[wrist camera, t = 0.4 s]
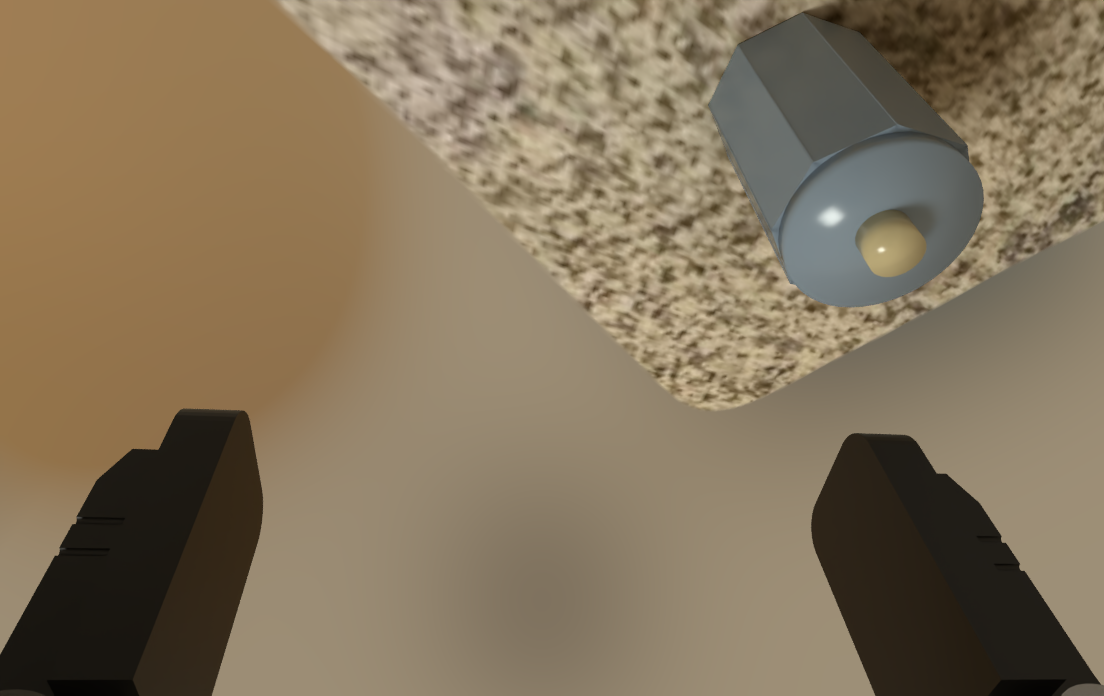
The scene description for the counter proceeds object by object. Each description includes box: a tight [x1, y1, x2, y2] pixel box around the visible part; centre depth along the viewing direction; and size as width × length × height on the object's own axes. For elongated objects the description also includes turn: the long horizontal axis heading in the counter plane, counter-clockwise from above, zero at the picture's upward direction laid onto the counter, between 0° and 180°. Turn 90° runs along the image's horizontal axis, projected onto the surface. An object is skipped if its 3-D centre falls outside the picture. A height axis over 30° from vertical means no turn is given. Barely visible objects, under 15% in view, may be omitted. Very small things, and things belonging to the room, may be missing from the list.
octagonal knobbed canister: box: [708, 13, 984, 307], centre depth 28 cm, size 6×6×11 cm
